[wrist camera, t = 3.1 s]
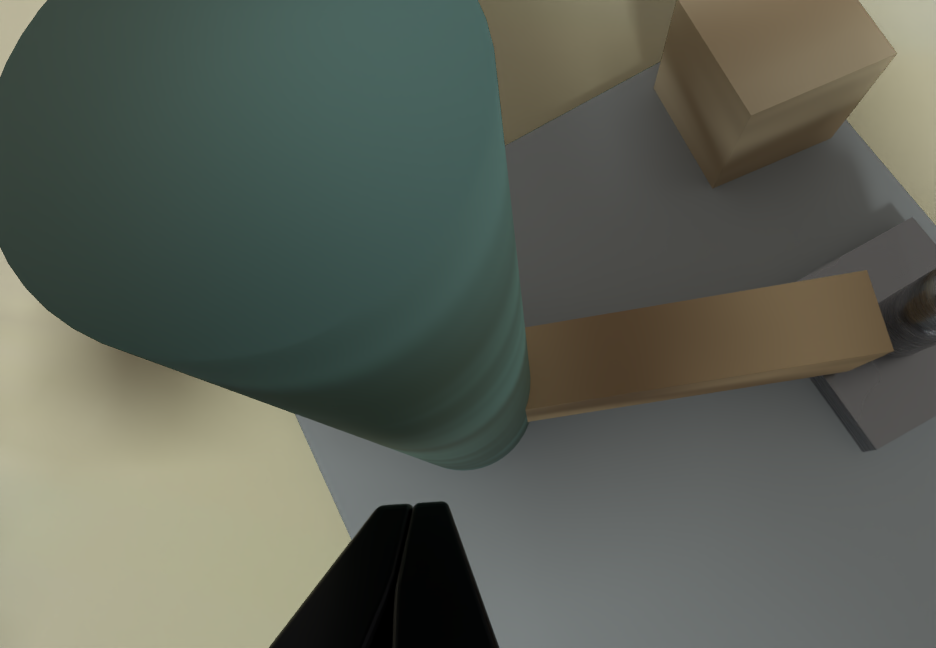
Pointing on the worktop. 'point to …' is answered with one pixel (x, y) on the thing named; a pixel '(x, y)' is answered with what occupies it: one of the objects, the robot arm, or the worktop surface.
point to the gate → (341, 226)
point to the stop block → (765, 77)
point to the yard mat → (680, 417)
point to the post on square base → (911, 333)
